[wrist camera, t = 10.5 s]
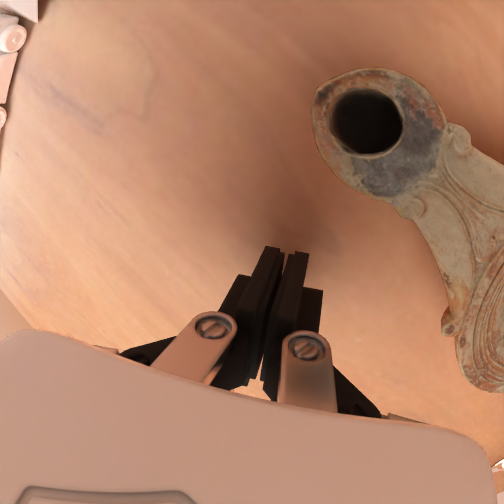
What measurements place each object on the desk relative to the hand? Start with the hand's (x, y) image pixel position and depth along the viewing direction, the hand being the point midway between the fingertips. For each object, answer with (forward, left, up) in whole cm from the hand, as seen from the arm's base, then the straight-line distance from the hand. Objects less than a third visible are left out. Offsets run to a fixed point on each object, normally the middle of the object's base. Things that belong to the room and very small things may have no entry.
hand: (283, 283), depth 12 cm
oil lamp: (-3, +10, -1) cm, 10 cm away
